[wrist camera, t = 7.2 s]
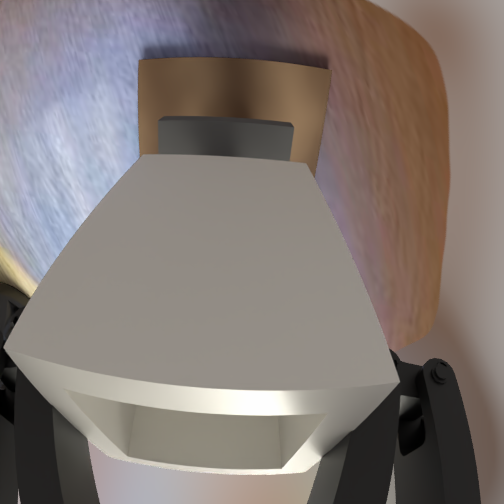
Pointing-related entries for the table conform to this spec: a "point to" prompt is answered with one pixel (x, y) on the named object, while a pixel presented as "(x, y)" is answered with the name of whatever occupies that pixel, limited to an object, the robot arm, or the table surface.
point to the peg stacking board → (235, 97)
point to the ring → (225, 137)
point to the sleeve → (208, 321)
